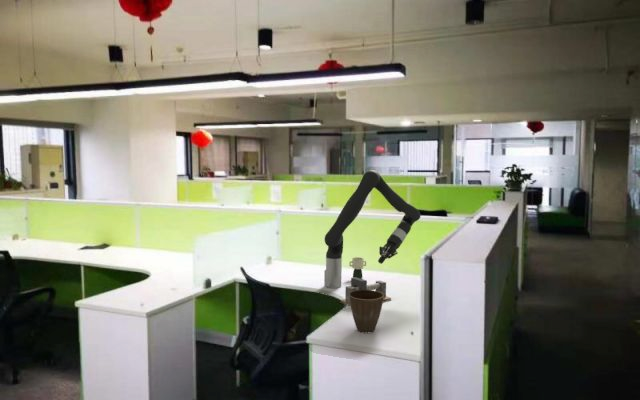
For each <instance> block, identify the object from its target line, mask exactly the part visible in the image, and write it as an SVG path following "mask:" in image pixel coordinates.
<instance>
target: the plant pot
mask: <svg viewBox="0 0 640 400" xmlns="http://www.w3.org/2000/svg"><path fill="white" fill-rule="evenodd" d="M349 297H350V305H351V306H350V310H351V313H352V318H353V322H354V324H355V327H356V329H357V332H359V331H360V333H362V332H367V333H366V334H369V333H368V332H372V333H374V332H375V330H376V327H377V324H378V322H379V319H380V315H381V312H382V307H383V303H384V302H383V297H384V295H383V294H382V293H381V292H378V291H376V290H357V291H353V292H351V293H349Z"/></svg>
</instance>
